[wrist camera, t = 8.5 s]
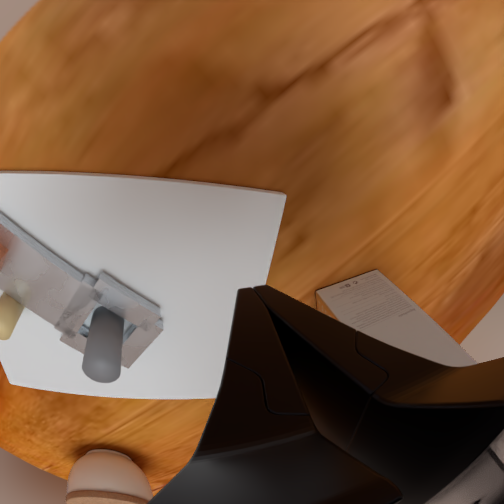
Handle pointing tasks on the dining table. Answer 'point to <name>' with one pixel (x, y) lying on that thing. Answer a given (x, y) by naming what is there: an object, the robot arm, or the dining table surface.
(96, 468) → the lidded jar
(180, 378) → the jig
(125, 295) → the arm
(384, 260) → the dining table surface
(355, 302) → the small box
